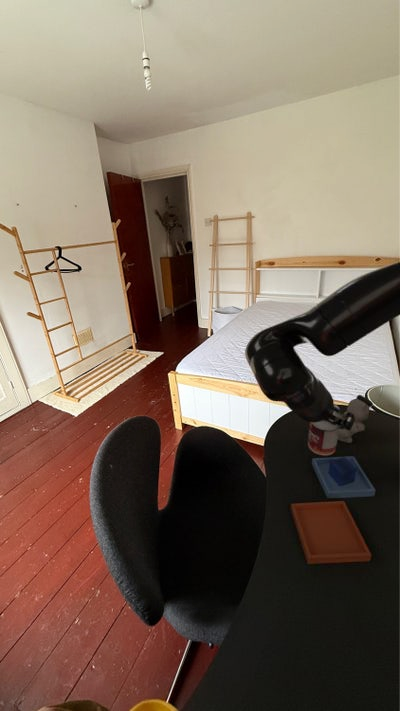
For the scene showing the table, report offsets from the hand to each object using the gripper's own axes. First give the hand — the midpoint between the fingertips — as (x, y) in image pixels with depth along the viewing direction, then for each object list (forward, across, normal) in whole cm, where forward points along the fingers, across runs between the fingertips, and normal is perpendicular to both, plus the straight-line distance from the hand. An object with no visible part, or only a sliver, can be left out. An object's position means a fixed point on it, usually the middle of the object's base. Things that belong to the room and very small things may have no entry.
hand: (328, 418), depth 68 cm
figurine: (+29, +2, 0) cm, 29 cm away
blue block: (+17, -4, +11) cm, 21 cm away
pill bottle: (+4, 0, +6) cm, 8 cm away
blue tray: (+18, -4, +11) cm, 21 cm away
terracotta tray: (+6, -7, +23) cm, 24 cm away
